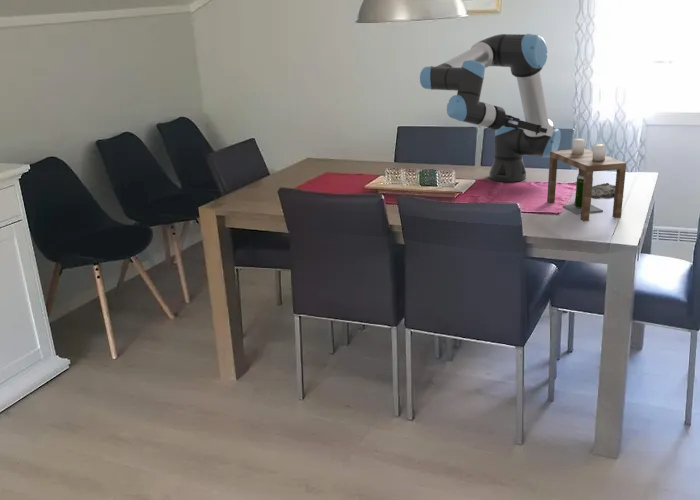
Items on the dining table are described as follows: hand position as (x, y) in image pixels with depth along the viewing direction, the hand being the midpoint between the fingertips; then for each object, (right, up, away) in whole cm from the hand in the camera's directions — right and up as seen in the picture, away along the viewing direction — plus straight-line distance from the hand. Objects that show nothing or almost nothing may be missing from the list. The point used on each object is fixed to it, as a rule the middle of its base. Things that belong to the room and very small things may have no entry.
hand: (540, 129), depth 248 cm
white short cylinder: (+15, -7, +7) cm, 18 cm away
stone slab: (+31, -20, +28) cm, 47 cm away
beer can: (+17, -27, +7) cm, 32 cm away
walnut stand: (+17, -27, +7) cm, 33 cm away
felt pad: (+17, -27, +7) cm, 33 cm away
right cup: (+19, -11, -4) cm, 22 cm away
